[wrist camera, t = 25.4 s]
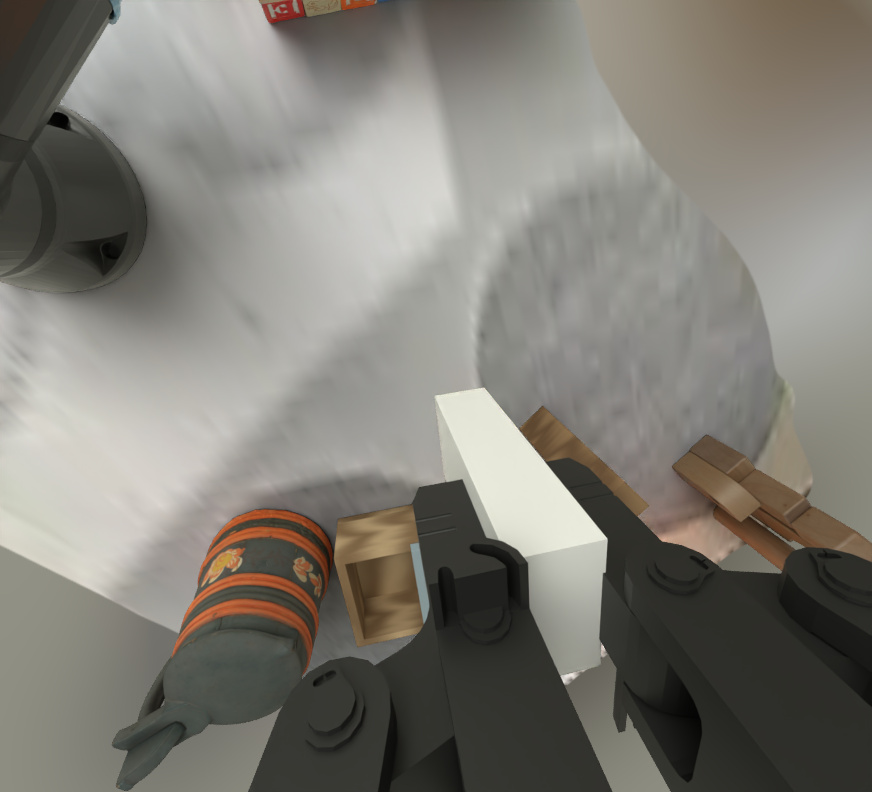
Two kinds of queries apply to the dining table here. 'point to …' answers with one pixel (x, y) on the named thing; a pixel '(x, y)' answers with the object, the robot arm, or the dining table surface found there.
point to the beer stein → (236, 636)
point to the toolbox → (379, 574)
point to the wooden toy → (763, 505)
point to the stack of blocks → (307, 7)
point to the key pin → (576, 455)
